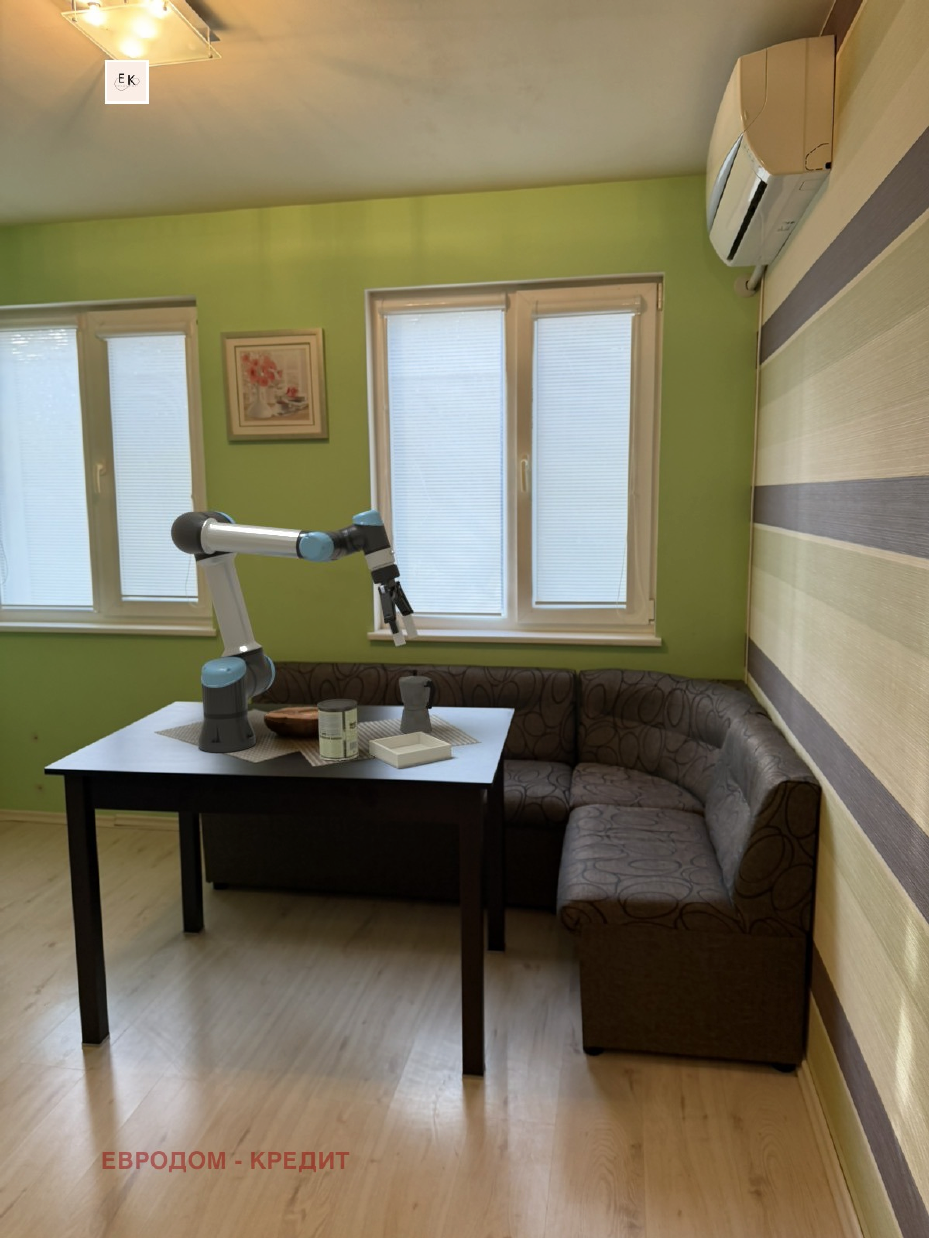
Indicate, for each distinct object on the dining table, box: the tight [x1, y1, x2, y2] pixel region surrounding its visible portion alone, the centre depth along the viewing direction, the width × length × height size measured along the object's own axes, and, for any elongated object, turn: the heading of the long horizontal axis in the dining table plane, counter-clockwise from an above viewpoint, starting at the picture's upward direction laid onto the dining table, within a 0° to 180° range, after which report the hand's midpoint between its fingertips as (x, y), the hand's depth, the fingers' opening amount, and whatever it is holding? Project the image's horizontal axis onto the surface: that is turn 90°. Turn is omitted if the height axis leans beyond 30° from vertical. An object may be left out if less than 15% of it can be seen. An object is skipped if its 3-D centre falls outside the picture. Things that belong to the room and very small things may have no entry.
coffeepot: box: [398, 668, 437, 735], centre depth 243 cm, size 15×9×18 cm, turn 43°
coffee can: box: [316, 698, 360, 762], centre depth 221 cm, size 10×10×14 cm
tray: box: [368, 732, 452, 770], centre depth 220 cm, size 16×16×4 cm
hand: (407, 641), depth 231 cm, fingers open, 13 cm apart
